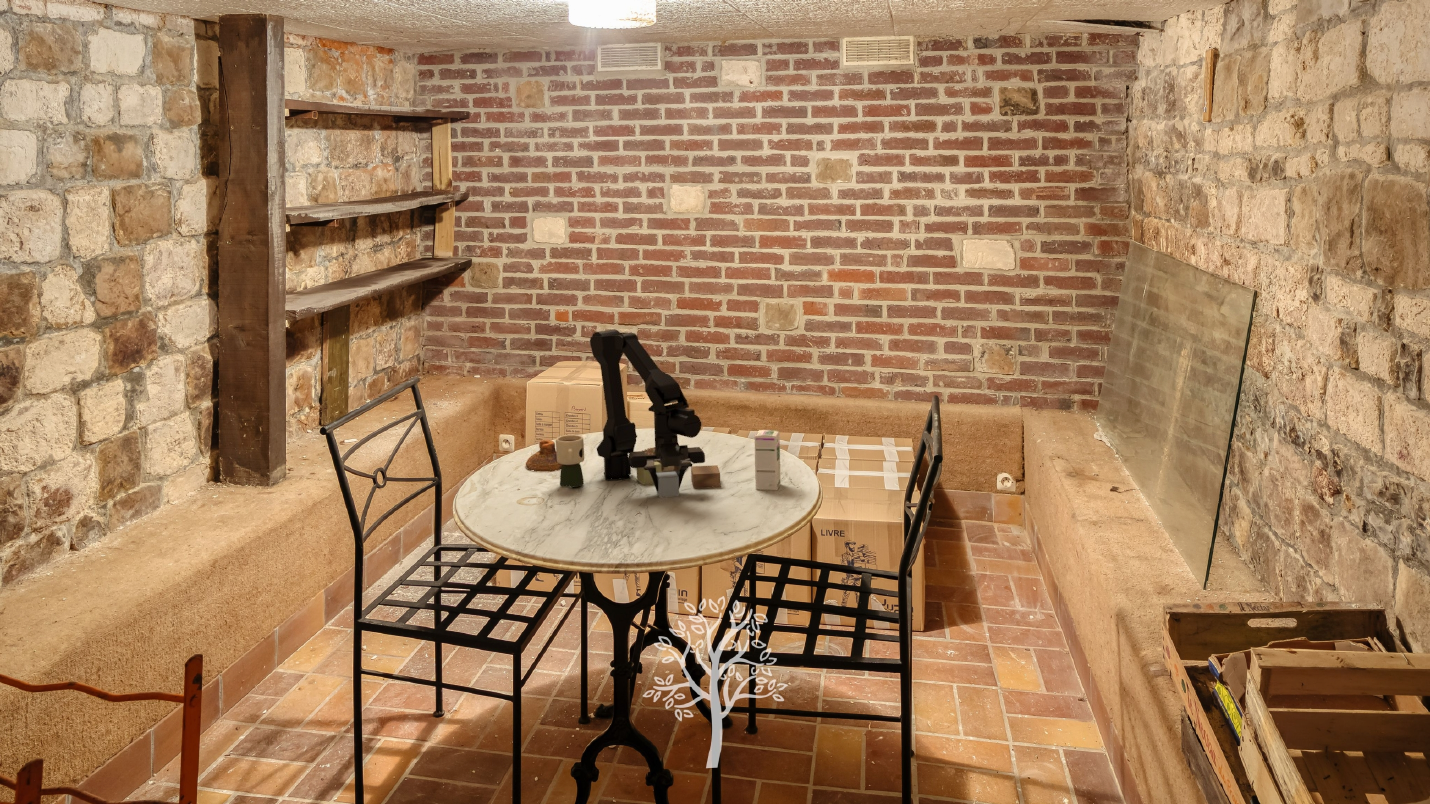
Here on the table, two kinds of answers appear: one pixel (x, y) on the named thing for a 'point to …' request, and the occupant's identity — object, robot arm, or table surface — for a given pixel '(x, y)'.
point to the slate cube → (668, 484)
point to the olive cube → (647, 474)
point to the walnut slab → (705, 476)
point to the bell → (544, 458)
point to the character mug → (570, 459)
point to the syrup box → (767, 459)
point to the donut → (663, 469)
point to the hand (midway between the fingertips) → (667, 489)
